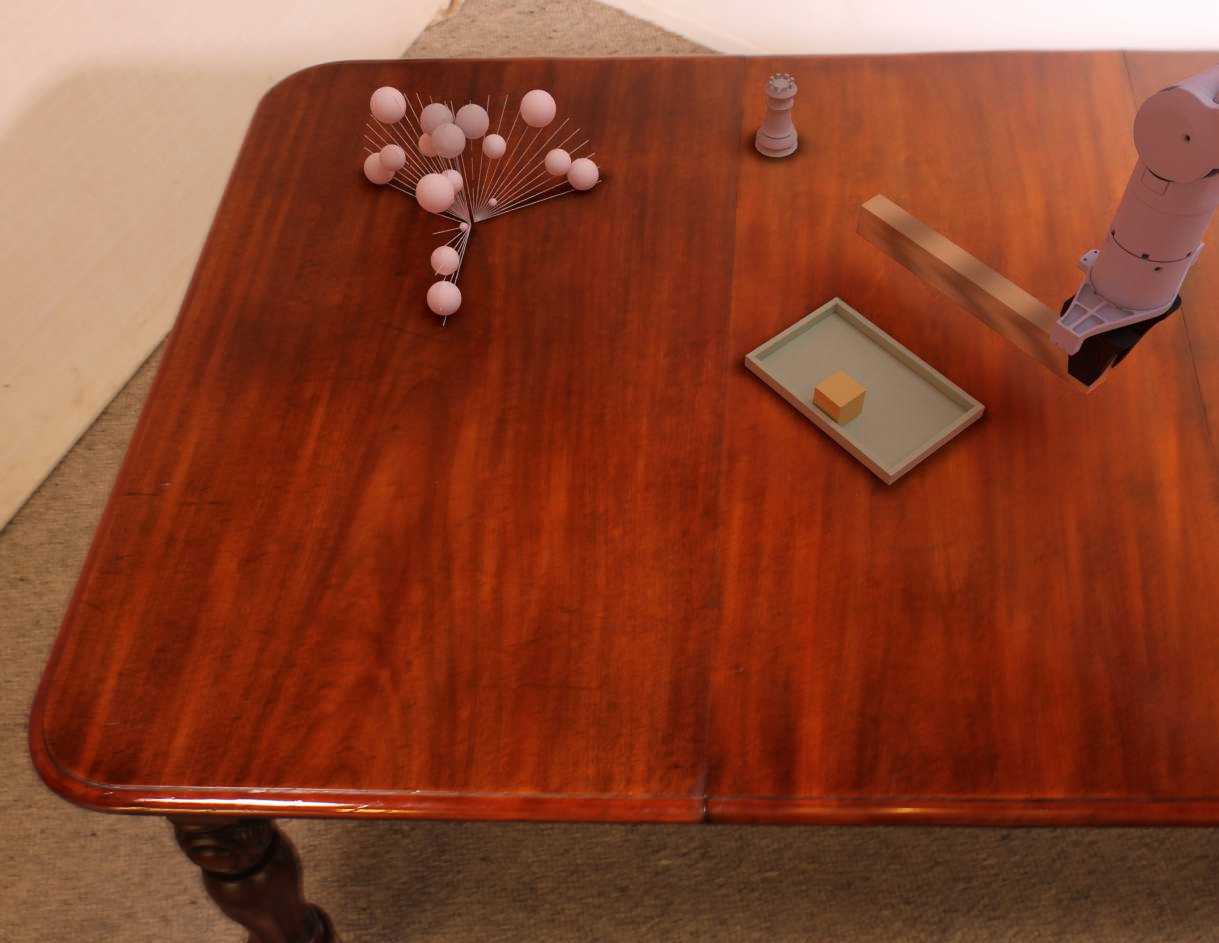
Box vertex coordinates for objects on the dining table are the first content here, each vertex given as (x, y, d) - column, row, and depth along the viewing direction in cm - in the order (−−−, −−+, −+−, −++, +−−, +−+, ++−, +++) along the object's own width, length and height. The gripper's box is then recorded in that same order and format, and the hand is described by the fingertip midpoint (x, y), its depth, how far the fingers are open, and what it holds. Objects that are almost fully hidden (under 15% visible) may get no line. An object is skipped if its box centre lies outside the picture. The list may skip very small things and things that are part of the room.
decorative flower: (314, 320, 102) (268, 201, 90) (370, 171, 115) (336, 50, 104) (575, 331, 99) (562, 210, 88) (602, 177, 112) (593, 54, 101)
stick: (1104, 380, 86) (1118, 353, 83) (1085, 395, 85) (1098, 368, 82) (873, 221, 98) (879, 193, 95) (855, 232, 97) (860, 204, 94)
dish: (981, 418, 91) (985, 406, 89) (888, 487, 87) (891, 476, 86) (834, 308, 99) (836, 296, 98) (744, 367, 95) (745, 355, 94)
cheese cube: (861, 413, 91) (866, 389, 89) (836, 430, 90) (840, 407, 88) (836, 392, 93) (840, 369, 90) (811, 409, 92) (814, 386, 89)
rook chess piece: (752, 135, 115) (757, 68, 109) (794, 133, 115) (801, 66, 109) (756, 161, 113) (761, 94, 106) (799, 159, 112) (806, 92, 106)
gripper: (1168, 161, 78) (1107, 298, 89) (1037, 251, 73) (990, 384, 84) (1257, 209, 74) (1182, 345, 85) (1126, 307, 70) (1065, 438, 80)
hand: (1092, 368), depth 84 cm, fingers closed on stick, 2 cm apart
